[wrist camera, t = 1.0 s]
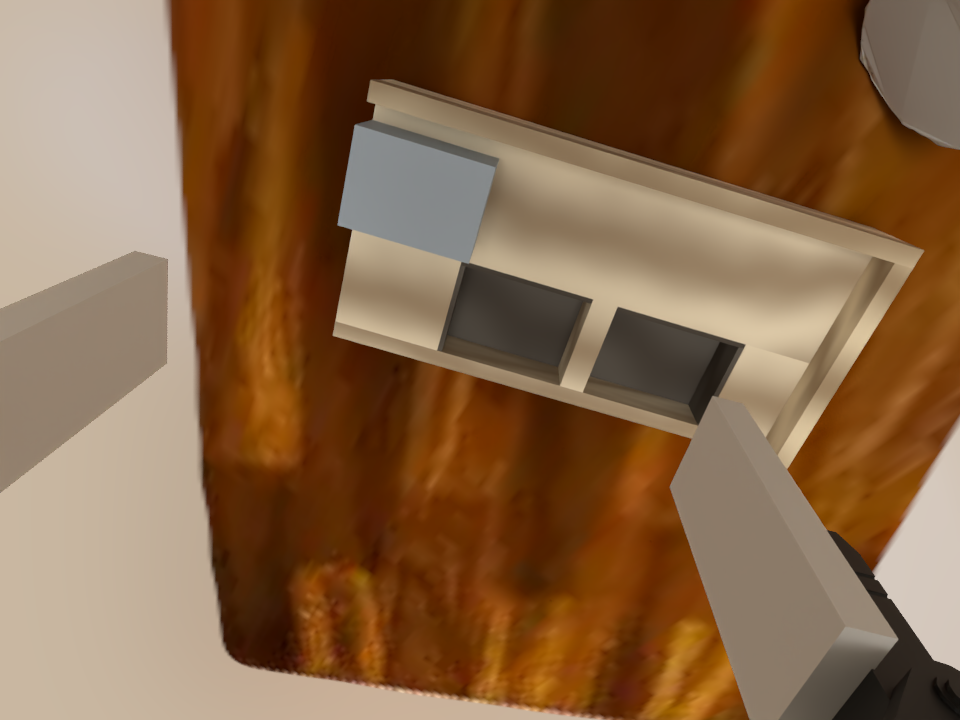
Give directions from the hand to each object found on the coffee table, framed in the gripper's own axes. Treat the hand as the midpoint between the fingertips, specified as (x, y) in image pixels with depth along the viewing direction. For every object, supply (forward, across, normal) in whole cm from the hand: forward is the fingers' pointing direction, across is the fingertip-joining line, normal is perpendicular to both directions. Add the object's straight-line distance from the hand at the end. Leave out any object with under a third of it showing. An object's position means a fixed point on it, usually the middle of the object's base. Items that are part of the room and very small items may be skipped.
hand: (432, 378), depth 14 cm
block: (+21, -4, 0) cm, 21 cm away
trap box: (+24, +7, -3) cm, 25 cm away
